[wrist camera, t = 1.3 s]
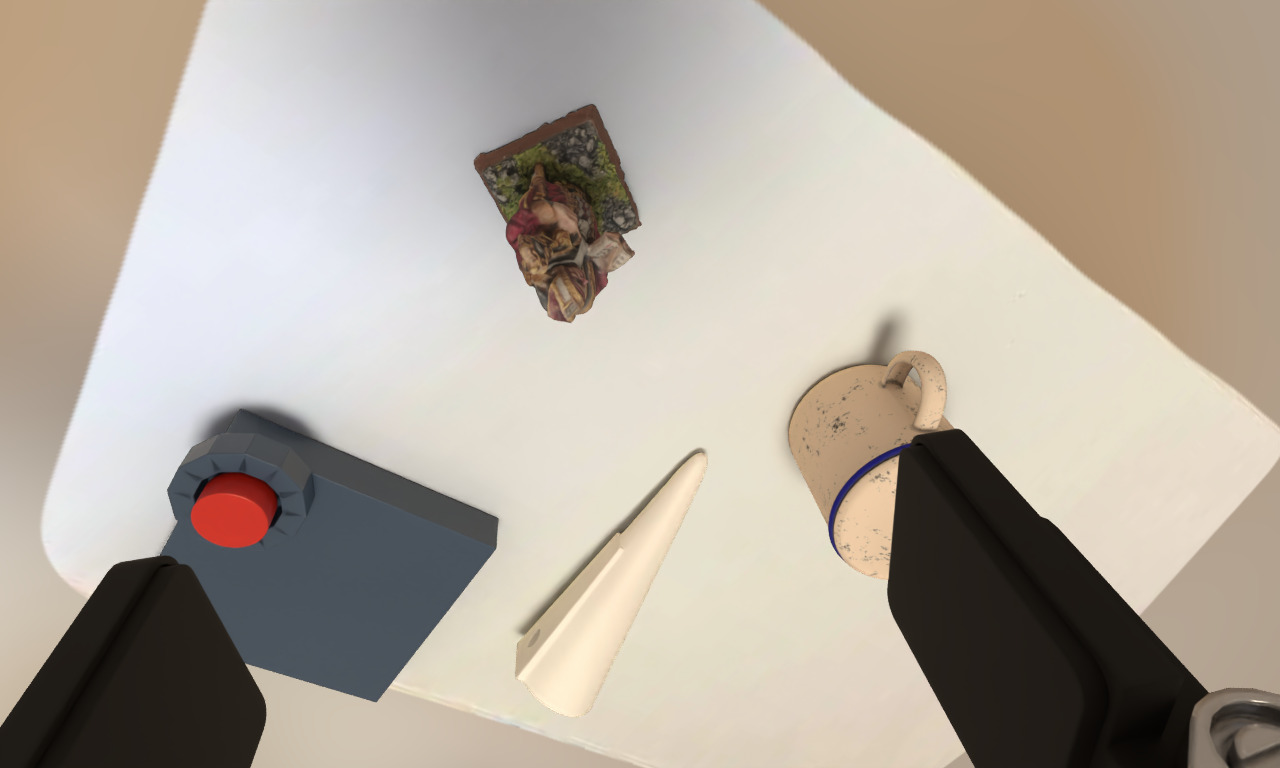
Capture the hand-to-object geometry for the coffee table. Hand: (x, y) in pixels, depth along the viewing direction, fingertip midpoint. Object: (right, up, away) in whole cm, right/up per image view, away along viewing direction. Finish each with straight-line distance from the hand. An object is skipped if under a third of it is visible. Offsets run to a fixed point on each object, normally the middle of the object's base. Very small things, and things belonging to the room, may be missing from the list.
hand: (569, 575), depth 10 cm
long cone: (+1, -9, +41) cm, 42 cm away
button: (-20, -3, +29) cm, 35 cm away
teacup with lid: (+14, +2, +36) cm, 39 cm away
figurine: (-3, +12, +27) cm, 30 cm away
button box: (-19, -8, +37) cm, 42 cm away
